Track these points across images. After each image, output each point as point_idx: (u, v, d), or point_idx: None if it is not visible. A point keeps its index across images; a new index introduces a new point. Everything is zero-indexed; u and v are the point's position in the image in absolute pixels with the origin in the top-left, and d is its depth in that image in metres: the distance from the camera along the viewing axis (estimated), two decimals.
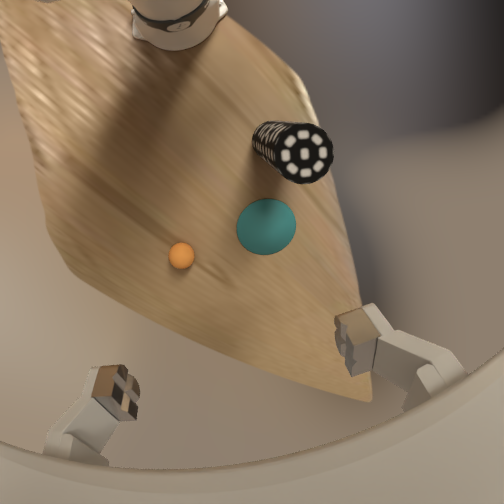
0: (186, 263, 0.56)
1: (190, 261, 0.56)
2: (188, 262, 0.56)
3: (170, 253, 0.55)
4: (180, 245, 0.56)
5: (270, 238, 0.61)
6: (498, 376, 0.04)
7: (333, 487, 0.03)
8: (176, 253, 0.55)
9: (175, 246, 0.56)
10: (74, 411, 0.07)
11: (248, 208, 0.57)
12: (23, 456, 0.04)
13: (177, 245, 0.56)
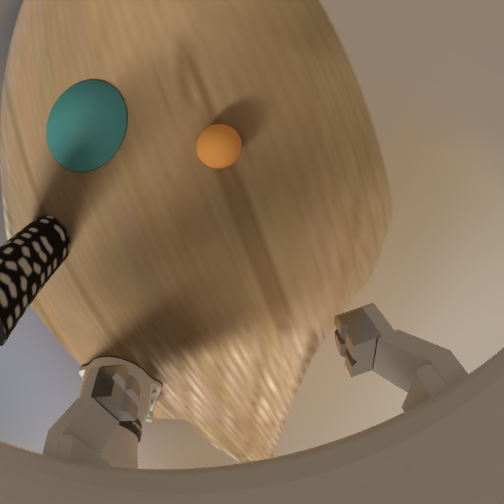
0: (212, 137, 0.29)
1: (205, 135, 0.29)
2: (209, 137, 0.29)
3: (229, 163, 0.31)
4: (207, 165, 0.32)
5: (85, 107, 0.28)
6: (498, 376, 0.04)
7: (333, 487, 0.03)
8: (218, 162, 0.30)
9: None
10: (74, 411, 0.07)
11: (95, 164, 0.32)
12: (23, 456, 0.04)
13: (212, 167, 0.32)
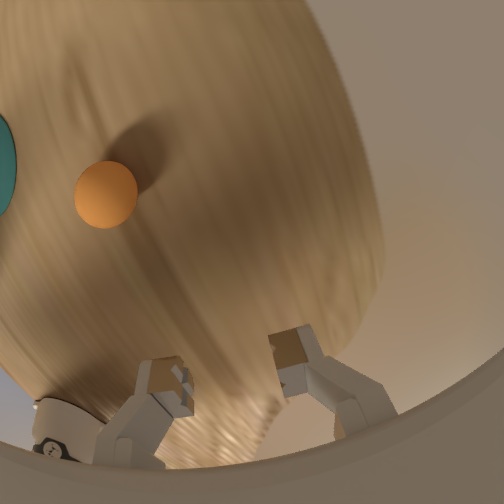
0: (84, 190, 0.17)
1: (78, 185, 0.17)
2: (81, 188, 0.17)
3: (118, 223, 0.20)
4: None
5: None
6: (498, 376, 0.04)
7: (333, 487, 0.03)
8: (98, 224, 0.19)
9: None
10: (129, 411, 0.07)
11: None
12: (23, 456, 0.04)
13: None
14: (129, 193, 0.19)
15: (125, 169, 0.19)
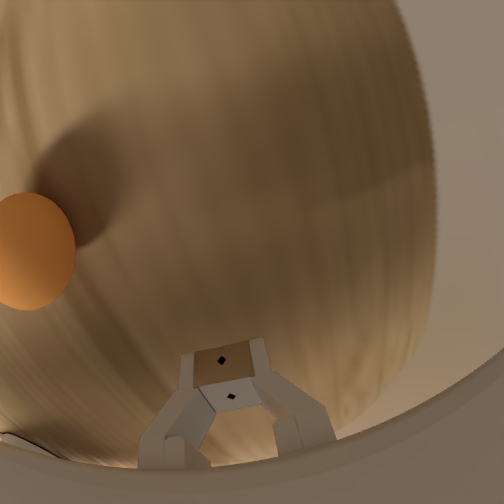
0: None
1: None
2: None
3: (43, 305, 0.10)
4: None
5: None
6: (498, 376, 0.04)
7: (333, 487, 0.03)
8: (12, 307, 0.08)
9: None
10: (175, 407, 0.07)
11: None
12: (23, 456, 0.04)
13: None
14: (53, 261, 0.09)
15: (49, 212, 0.09)
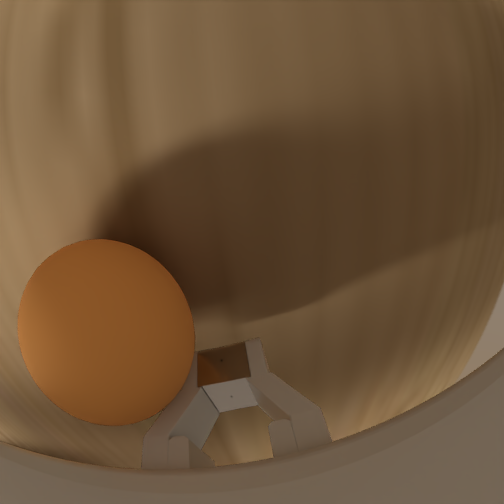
0: (36, 352, 0.04)
1: (23, 318, 0.05)
2: (28, 340, 0.04)
3: None
4: None
5: None
6: (498, 376, 0.04)
7: (333, 487, 0.03)
8: None
9: None
10: (179, 407, 0.07)
11: None
12: (23, 456, 0.04)
13: None
14: (180, 378, 0.06)
15: (172, 296, 0.07)
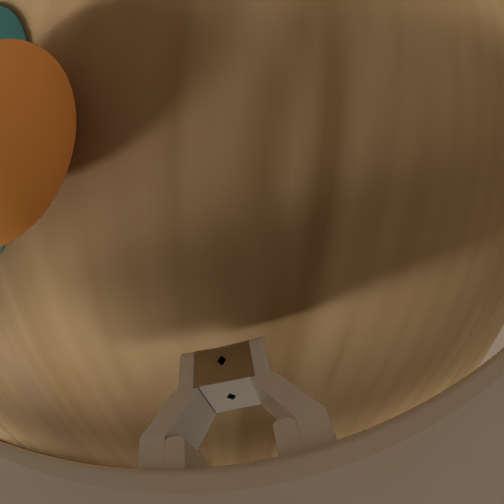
0: (36, 203, 0.04)
1: None
2: (23, 209, 0.04)
3: None
4: None
5: None
6: (498, 376, 0.04)
7: (333, 487, 0.03)
8: None
9: None
10: (175, 407, 0.07)
11: None
12: (23, 456, 0.04)
13: None
14: None
15: (55, 61, 0.04)
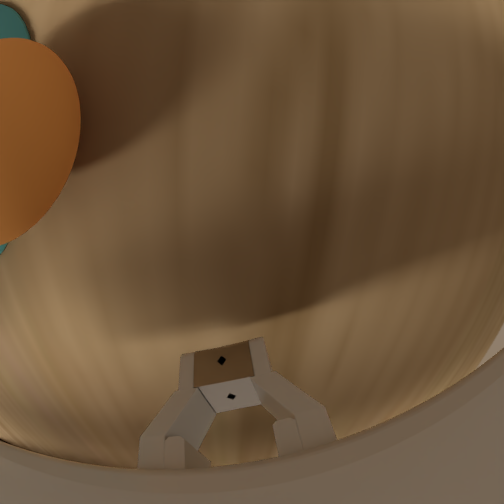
0: (41, 200, 0.05)
1: (5, 205, 0.04)
2: (28, 206, 0.04)
3: None
4: None
5: None
6: (498, 376, 0.04)
7: (333, 487, 0.03)
8: None
9: None
10: (175, 407, 0.07)
11: None
12: (23, 456, 0.04)
13: None
14: None
15: (60, 60, 0.04)
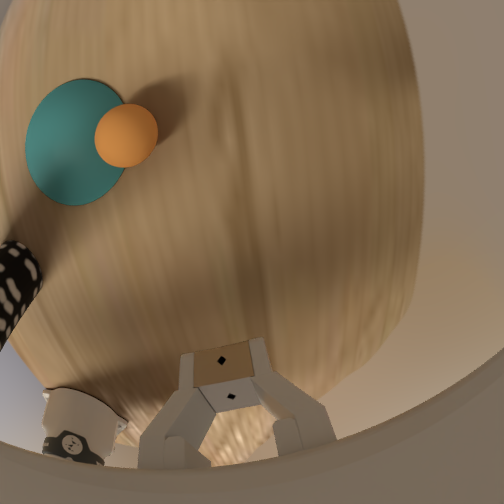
0: (151, 148, 0.20)
1: (144, 148, 0.19)
2: (149, 149, 0.20)
3: None
4: None
5: (77, 118, 0.20)
6: (498, 376, 0.04)
7: (333, 487, 0.03)
8: None
9: None
10: (175, 407, 0.07)
11: (80, 200, 0.24)
12: (23, 456, 0.04)
13: None
14: None
15: None
